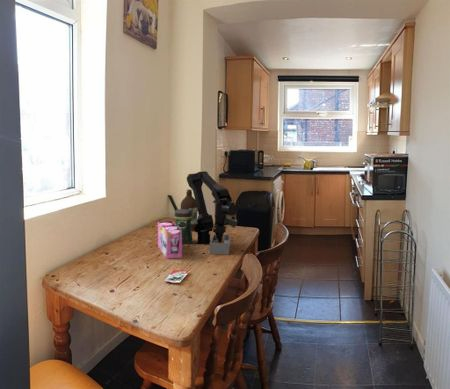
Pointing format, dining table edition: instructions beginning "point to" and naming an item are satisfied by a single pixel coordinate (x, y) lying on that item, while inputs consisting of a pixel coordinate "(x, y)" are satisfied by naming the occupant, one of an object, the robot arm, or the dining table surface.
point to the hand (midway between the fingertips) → (220, 241)
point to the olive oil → (190, 207)
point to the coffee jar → (184, 224)
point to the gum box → (170, 239)
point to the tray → (220, 245)
